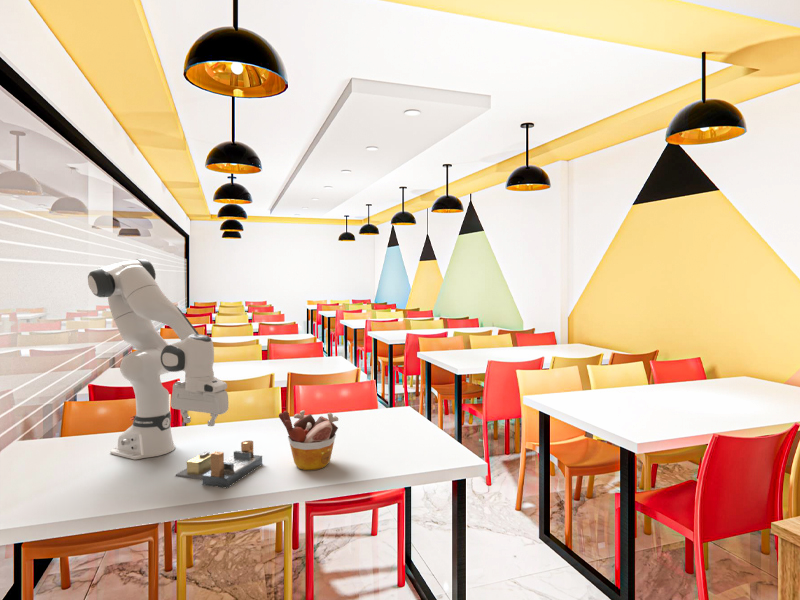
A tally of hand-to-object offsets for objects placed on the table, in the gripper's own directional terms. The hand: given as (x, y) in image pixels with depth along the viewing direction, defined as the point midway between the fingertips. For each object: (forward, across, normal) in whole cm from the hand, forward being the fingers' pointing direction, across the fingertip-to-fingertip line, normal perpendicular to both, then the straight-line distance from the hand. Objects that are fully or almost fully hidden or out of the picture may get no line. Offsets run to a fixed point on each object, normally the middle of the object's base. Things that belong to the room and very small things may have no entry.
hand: (199, 424), depth 165 cm
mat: (+16, +1, 0) cm, 16 cm away
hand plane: (+15, +13, +1) cm, 20 cm away
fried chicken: (+15, +34, +15) cm, 40 cm away
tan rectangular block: (+15, +1, 0) cm, 15 cm away
